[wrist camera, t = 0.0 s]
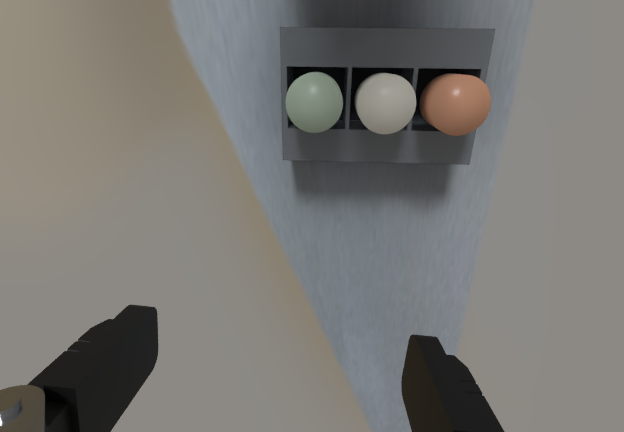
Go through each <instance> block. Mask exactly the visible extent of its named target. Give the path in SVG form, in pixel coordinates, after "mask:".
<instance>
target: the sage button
mask: <svg viewBox="0 0 624 432" xmlns="http://www.w3.org/2000/svg"><path fill="white" fill-rule="evenodd" d="M285 104H286V111H287V114H288V116H289V118H290V120H291V121H292V122H293V124H294V125H295V126H297V127H298V128H299V129H301V130H303V131H306V132H310V133H319V132H323V131H325V130H328V129H329V128H331V127H332V126H333V125H334V124H335V123H336V122H337V120H338V119H339V117H340V115H341V112H342V108H343V98H342V93H341V90H340V88H339V86H338V84H337V82H336V81H335V80H334V79H333V78H332V77H331V76H329V75H327V74H325V73H322V72H310V73H307V74H304V75H302V76H300V77H299V78H297V79H296V80H295V81H294V82H293V83H292V84H291V86H290V88H289V89H288V92H287V95H286V103H285Z"/></svg>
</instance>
